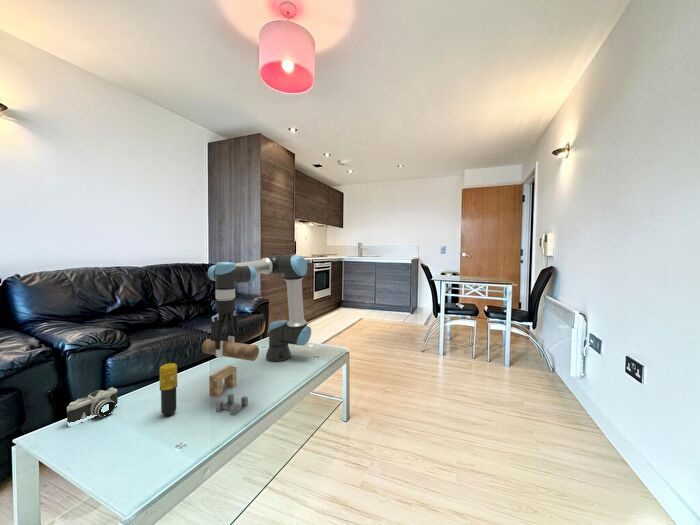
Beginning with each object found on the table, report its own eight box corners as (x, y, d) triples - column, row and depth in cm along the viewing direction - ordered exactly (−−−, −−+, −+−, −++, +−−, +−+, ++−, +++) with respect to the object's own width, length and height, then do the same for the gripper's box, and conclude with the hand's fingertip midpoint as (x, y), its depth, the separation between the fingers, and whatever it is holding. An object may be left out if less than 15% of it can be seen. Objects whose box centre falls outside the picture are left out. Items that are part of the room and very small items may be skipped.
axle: (202, 355, 117) (201, 341, 116) (213, 350, 123) (212, 336, 122) (249, 363, 109) (249, 348, 109) (259, 357, 115) (258, 343, 115)
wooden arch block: (209, 395, 126) (209, 375, 125) (228, 383, 137) (228, 365, 137) (218, 397, 124) (218, 377, 124) (236, 385, 136) (236, 367, 135)
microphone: (151, 408, 115) (150, 361, 114) (181, 411, 113) (180, 362, 112) (139, 417, 109) (138, 366, 108) (170, 419, 107) (169, 368, 107)
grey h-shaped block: (230, 402, 120) (230, 393, 120) (247, 406, 117) (247, 396, 117) (216, 412, 112) (216, 403, 112) (234, 416, 110) (234, 406, 110)
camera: (76, 431, 100) (75, 404, 99) (63, 426, 103) (62, 399, 103) (125, 408, 115) (125, 385, 114) (113, 404, 118) (112, 381, 117)
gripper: (234, 295, 126) (234, 346, 127) (199, 302, 108) (199, 360, 109) (247, 296, 124) (247, 348, 124) (214, 303, 106) (214, 363, 106)
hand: (225, 353), depth 117 cm, fingers closed on axle, 6 cm apart
